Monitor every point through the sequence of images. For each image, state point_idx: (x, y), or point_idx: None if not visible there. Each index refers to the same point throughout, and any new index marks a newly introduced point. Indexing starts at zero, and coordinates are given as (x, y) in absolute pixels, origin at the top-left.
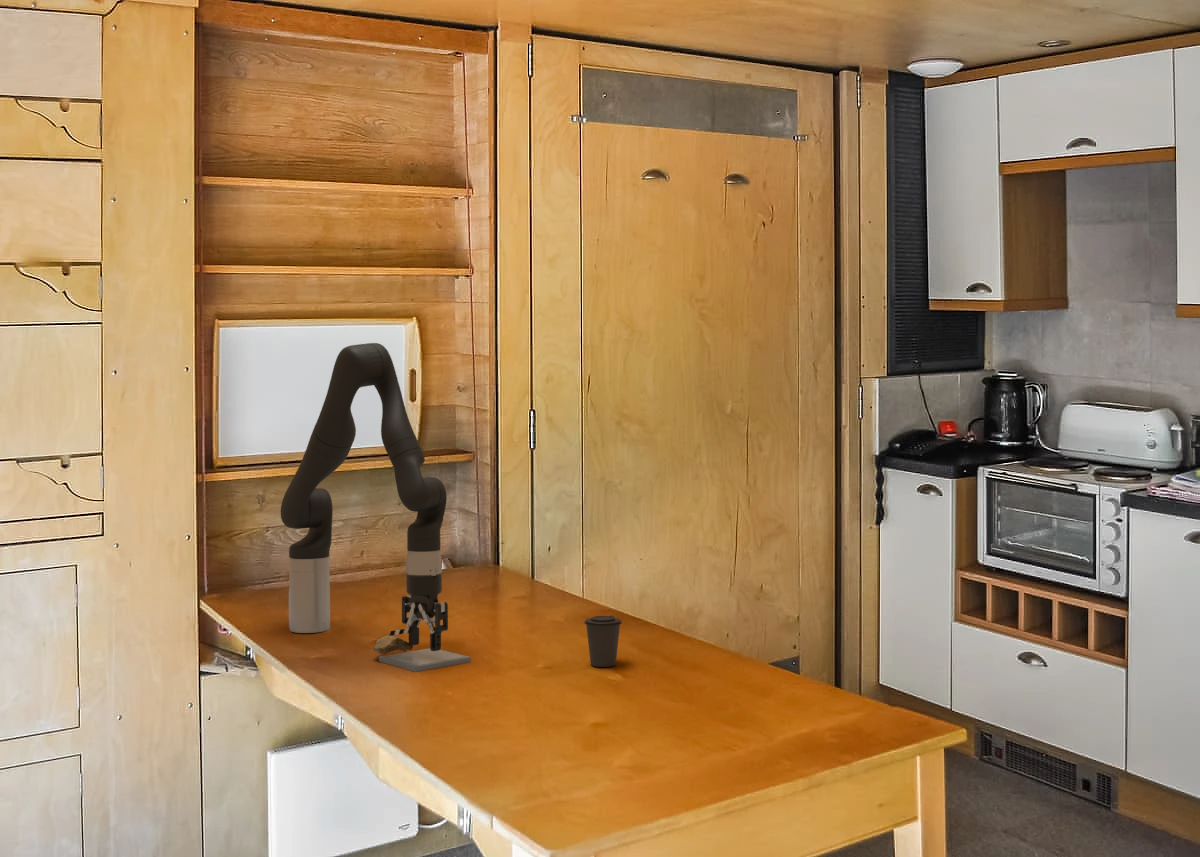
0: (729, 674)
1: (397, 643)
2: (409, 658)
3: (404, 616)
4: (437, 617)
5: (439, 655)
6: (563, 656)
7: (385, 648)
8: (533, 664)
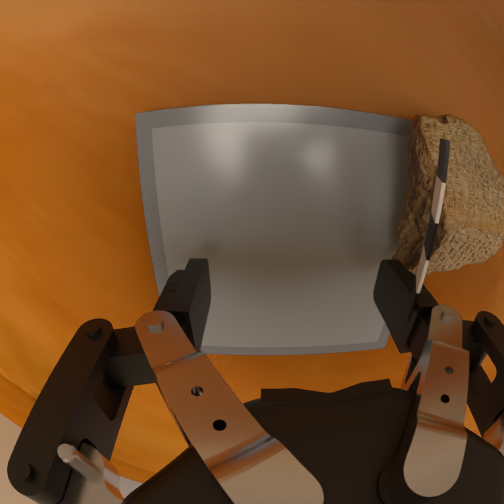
0: (9, 410)
1: (424, 207)
2: (309, 186)
3: (496, 342)
4: (50, 393)
5: (264, 305)
6: (133, 433)
7: (417, 121)
8: None
